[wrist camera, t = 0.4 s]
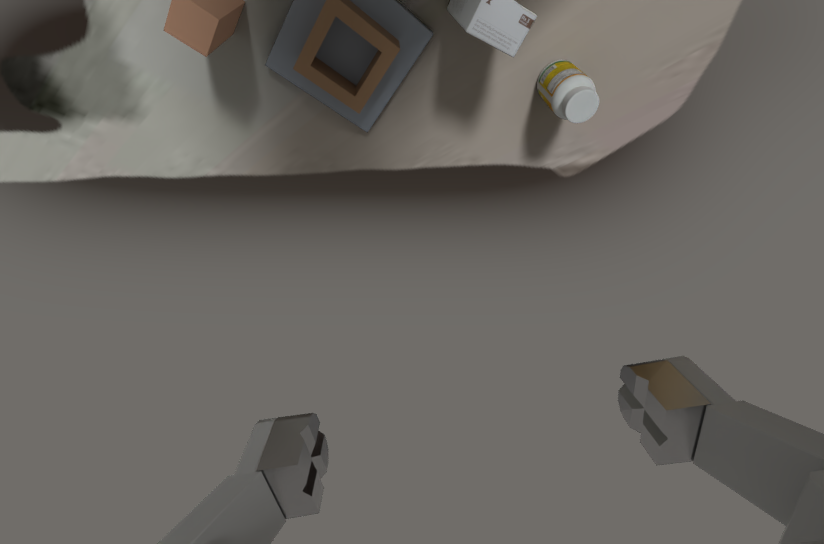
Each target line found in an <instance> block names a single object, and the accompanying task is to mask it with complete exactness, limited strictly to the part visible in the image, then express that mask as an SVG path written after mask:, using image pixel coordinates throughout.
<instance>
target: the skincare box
mask: <svg viewBox="0 0 824 544" xmlns="http://www.w3.org/2000/svg"><path fill="white" fill-rule="evenodd" d="M447 11H448V12H449V13H450V14H451V15H452V16H453V18H454V19H455V20H456V21H457V22H458V23H459V25H460V26H461V27H462V28H463V29H464V30H465V31H466V33H468V34H470V35H472V36H474V37H476V38H478V39H480V40H482V41H483V42H485V43H487V44H489V45H491V46H493V47H495V48H496V49H498V50H500V51H502V52H504V53H506V54H508V55H510V56H512V57H514V56H515V55H516V53H517V51H518V49H519V47H520V46H521V44H522V42H523V40H524V39H525V37H526V35H527V33H528V32H529V30H530V28H531V26H532V25H533V23H534V21H535V20H536V18H537V15H536V14H534V13H533V12H531V11H530V10H528V9H527V8H525V7H523V6H522V5H520V4H519V3H517V2H516V1H514V0H450V2H449V5H448V7H447Z"/></svg>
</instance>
